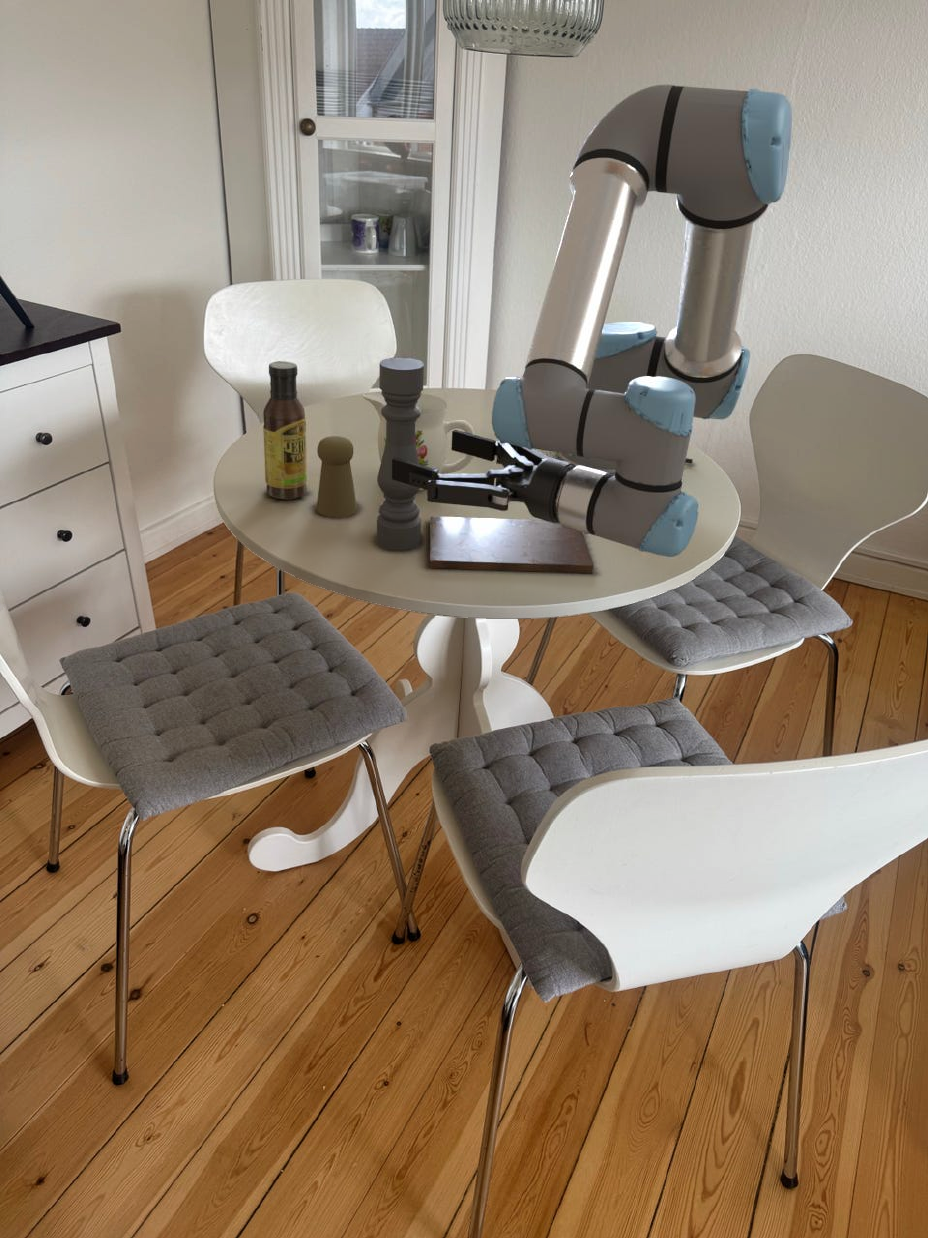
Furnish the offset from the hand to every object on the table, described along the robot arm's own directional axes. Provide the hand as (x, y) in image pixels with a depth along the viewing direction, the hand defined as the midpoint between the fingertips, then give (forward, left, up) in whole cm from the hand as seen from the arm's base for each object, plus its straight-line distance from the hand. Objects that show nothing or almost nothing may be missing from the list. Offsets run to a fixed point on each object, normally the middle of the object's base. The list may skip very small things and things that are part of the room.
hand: (424, 453), depth 120 cm
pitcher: (+1, -23, -14) cm, 27 cm away
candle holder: (+3, -2, -14) cm, 15 cm away
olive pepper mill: (+13, -12, -14) cm, 23 cm away
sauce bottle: (+21, -17, -14) cm, 30 cm away
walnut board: (-12, -1, -14) cm, 19 cm away
